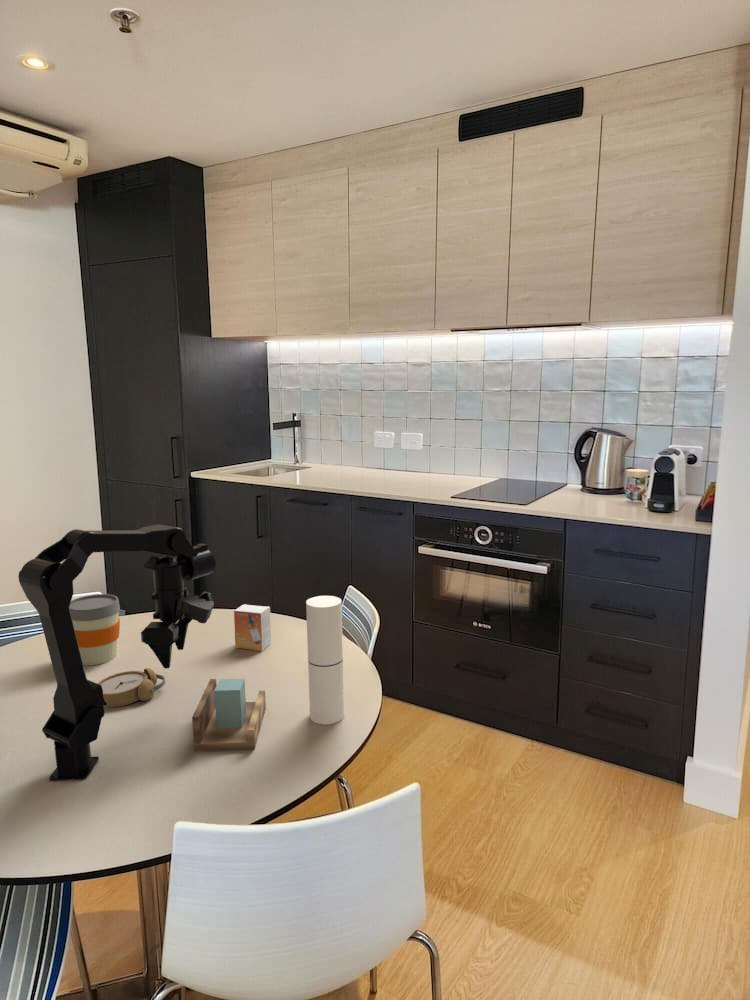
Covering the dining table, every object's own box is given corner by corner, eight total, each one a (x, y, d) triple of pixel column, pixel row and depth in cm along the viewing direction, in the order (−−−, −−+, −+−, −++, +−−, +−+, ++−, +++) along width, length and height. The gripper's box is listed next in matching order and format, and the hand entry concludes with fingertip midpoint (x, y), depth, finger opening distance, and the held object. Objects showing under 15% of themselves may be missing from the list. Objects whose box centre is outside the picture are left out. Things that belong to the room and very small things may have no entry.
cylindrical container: (313, 726, 131) (309, 608, 127) (307, 709, 138) (303, 597, 134) (347, 721, 133) (344, 605, 129) (340, 705, 140) (337, 594, 136)
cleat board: (254, 749, 123) (253, 715, 122) (194, 751, 123) (192, 717, 122) (265, 707, 139) (264, 677, 138) (212, 709, 139) (210, 678, 138)
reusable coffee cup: (130, 647, 173) (126, 593, 170) (113, 667, 160) (108, 609, 158) (83, 648, 172) (77, 594, 170) (62, 668, 160) (56, 610, 157)
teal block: (242, 727, 128) (240, 689, 127) (216, 728, 128) (214, 690, 127) (246, 714, 133) (244, 678, 132) (221, 715, 133) (219, 679, 132)
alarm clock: (98, 676, 150) (164, 658, 152) (104, 695, 151) (169, 677, 153) (87, 698, 139) (159, 679, 141) (94, 719, 140) (164, 700, 142)
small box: (234, 648, 171) (232, 610, 169) (245, 640, 176) (243, 603, 174) (262, 651, 169) (260, 613, 167) (272, 643, 174) (270, 606, 172)
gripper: (196, 600, 123) (200, 678, 125) (219, 572, 141) (223, 640, 144) (137, 601, 123) (143, 678, 125) (168, 573, 141) (173, 641, 144)
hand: (174, 658), depth 135 cm, fingers open, 9 cm apart
